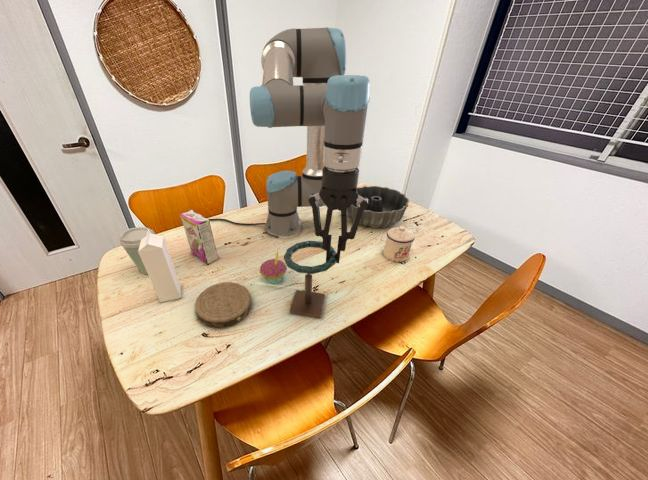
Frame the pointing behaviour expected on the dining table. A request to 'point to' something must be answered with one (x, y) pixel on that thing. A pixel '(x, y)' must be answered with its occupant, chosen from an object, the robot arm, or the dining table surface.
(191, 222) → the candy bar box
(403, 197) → the bundt pan
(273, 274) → the cupcake
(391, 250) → the teacup with lid
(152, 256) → the milk
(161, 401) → the dining table surface
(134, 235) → the disposable coffee cup
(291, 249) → the ring
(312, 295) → the post
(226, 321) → the wood slice
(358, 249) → the dining table surface
